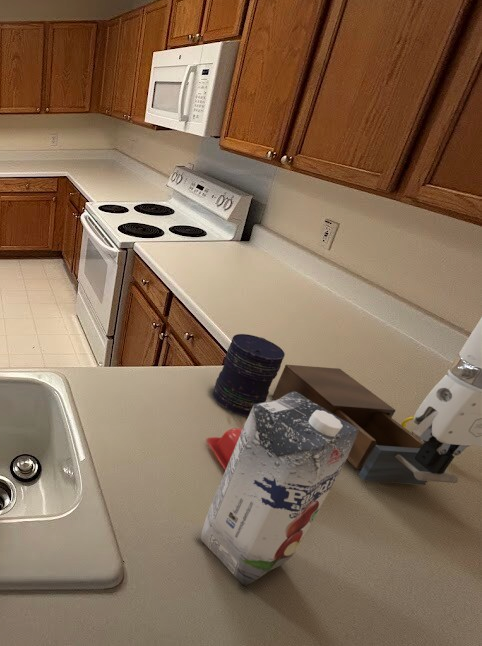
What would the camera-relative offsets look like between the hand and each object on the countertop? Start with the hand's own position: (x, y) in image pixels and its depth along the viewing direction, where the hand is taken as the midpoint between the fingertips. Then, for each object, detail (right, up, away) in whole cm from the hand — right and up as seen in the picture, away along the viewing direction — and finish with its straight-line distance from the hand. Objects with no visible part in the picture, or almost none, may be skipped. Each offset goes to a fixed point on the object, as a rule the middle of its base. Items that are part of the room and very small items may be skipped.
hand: (427, 466), depth 69 cm
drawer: (0, -4, +9) cm, 10 cm away
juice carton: (-37, -9, -8) cm, 39 cm away
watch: (+16, -3, +17) cm, 24 cm away
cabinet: (0, 0, +21) cm, 21 cm away
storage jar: (-17, +3, +25) cm, 30 cm away
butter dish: (-26, -4, +7) cm, 27 cm away
